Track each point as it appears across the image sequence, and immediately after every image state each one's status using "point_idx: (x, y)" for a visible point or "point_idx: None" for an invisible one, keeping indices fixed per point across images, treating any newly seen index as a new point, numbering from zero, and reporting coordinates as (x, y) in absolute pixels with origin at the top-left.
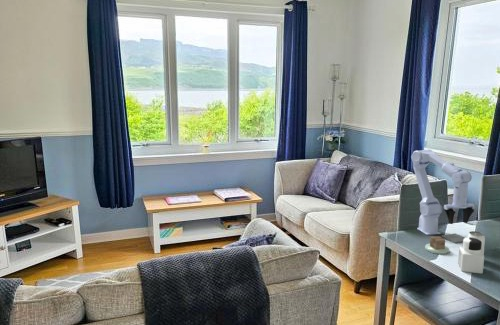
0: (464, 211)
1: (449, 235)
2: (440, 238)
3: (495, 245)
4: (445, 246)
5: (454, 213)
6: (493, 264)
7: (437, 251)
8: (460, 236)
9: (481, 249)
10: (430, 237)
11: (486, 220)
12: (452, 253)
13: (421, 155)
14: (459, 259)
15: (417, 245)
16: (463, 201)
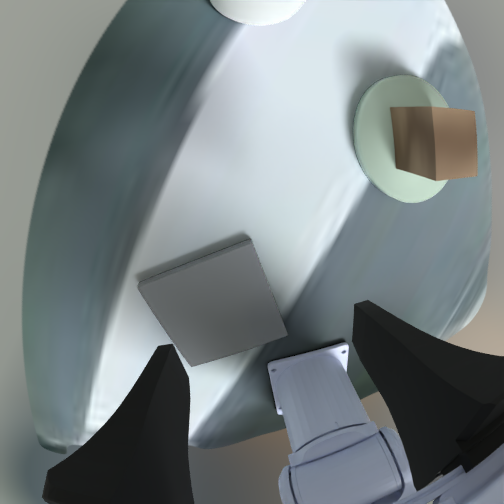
0: (181, 492)
1: (239, 339)
2: (446, 139)
3: (29, 226)
4: (367, 146)
5: (459, 385)
6: None
7: (432, 86)
8: (178, 330)
9: None
10: (474, 174)
11: (56, 441)
12: (348, 75)
13: None
14: None
15: (454, 203)
16: None
